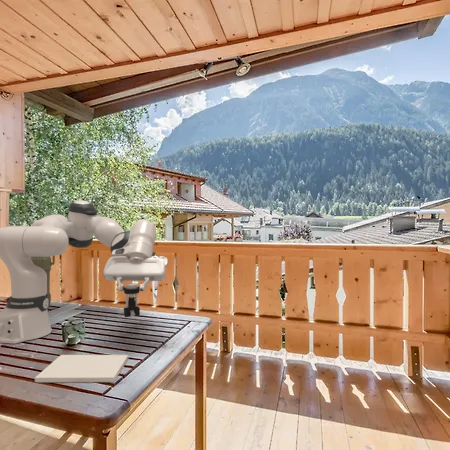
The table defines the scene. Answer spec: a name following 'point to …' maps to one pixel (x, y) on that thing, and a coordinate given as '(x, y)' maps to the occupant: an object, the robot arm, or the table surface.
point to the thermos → (46, 266)
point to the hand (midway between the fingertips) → (131, 290)
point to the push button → (131, 301)
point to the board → (83, 368)
